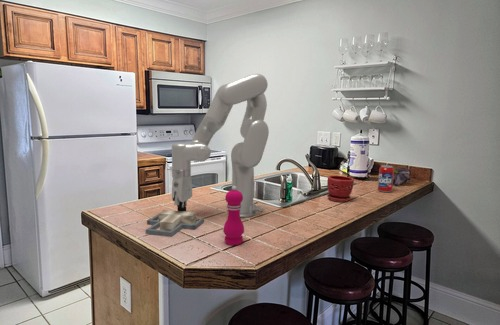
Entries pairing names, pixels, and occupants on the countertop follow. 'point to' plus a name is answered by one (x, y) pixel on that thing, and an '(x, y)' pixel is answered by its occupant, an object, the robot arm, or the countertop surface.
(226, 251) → the countertop surface
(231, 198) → the pepper mill
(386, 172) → the soda can
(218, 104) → the robot arm
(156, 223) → the dock
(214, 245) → the countertop surface
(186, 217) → the t block
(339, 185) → the plant pot
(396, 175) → the decorative flower
